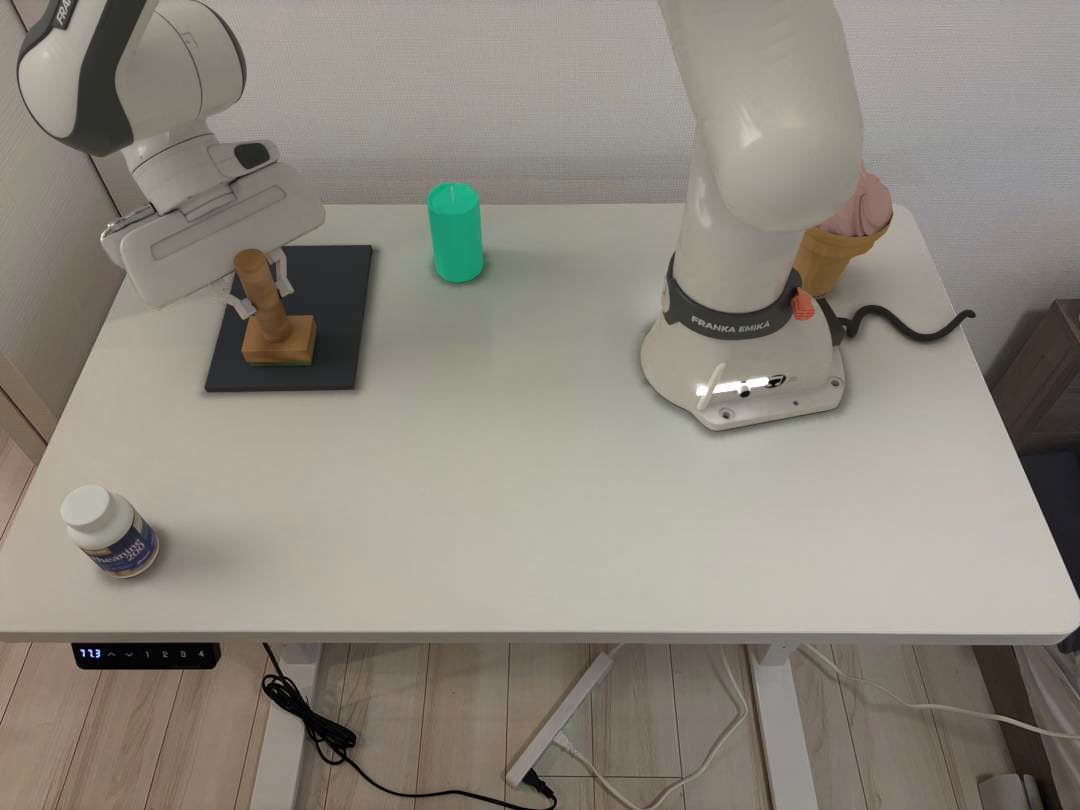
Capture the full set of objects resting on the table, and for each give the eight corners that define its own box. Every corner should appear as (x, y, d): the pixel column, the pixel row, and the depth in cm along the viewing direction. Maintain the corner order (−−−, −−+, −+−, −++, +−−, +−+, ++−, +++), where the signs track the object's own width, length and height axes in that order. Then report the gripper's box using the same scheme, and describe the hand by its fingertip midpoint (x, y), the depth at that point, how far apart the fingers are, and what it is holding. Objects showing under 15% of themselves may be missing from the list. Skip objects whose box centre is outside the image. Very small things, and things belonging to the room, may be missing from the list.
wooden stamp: (318, 332, 90) (288, 240, 79) (312, 367, 88) (280, 277, 76) (257, 333, 90) (218, 241, 79) (248, 368, 87) (207, 277, 76)
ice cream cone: (775, 317, 94) (827, 180, 77) (757, 252, 100) (802, 113, 84) (866, 315, 94) (937, 178, 78) (842, 251, 100) (903, 112, 84)
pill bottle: (107, 589, 73) (56, 543, 65) (97, 542, 76) (46, 492, 68) (166, 564, 75) (123, 516, 67) (154, 519, 78) (112, 467, 70)
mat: (372, 249, 100) (371, 244, 99) (353, 389, 87) (352, 385, 86) (244, 251, 99) (242, 246, 99) (206, 392, 87) (204, 387, 86)
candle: (482, 282, 96) (477, 205, 87) (432, 282, 96) (422, 204, 87) (484, 248, 100) (480, 170, 90) (437, 247, 100) (427, 169, 90)
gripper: (89, 224, 72) (179, 356, 75) (286, 133, 80) (358, 256, 84) (90, 236, 77) (174, 358, 81) (274, 149, 85) (343, 264, 89)
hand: (269, 305), depth 82 cm, fingers closed on wooden stamp, 3 cm apart
